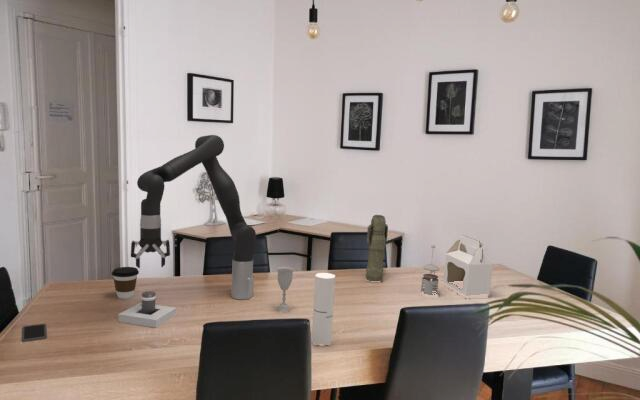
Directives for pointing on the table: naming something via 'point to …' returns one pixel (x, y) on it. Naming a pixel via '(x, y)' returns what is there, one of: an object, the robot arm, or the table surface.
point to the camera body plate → (154, 320)
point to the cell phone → (34, 332)
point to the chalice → (284, 284)
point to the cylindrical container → (323, 308)
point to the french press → (427, 282)
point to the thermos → (376, 247)
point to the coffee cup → (125, 281)
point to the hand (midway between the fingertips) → (150, 267)
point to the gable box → (468, 267)
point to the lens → (148, 303)
